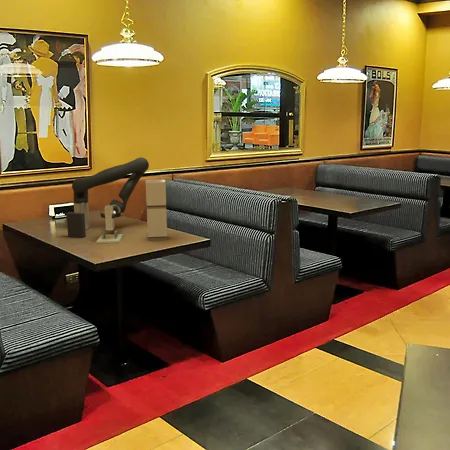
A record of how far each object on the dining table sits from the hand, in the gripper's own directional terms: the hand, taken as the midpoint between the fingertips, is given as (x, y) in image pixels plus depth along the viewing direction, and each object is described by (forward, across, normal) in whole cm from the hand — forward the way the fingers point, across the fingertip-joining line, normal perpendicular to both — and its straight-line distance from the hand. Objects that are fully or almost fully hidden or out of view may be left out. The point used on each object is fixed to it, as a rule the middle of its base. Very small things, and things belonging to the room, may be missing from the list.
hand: (108, 217), depth 325 cm
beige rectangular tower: (-6, +28, +15) cm, 32 cm away
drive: (-3, 0, +8) cm, 8 cm away
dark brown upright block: (-12, -22, +15) cm, 29 cm away
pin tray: (-3, 0, +14) cm, 15 cm away
